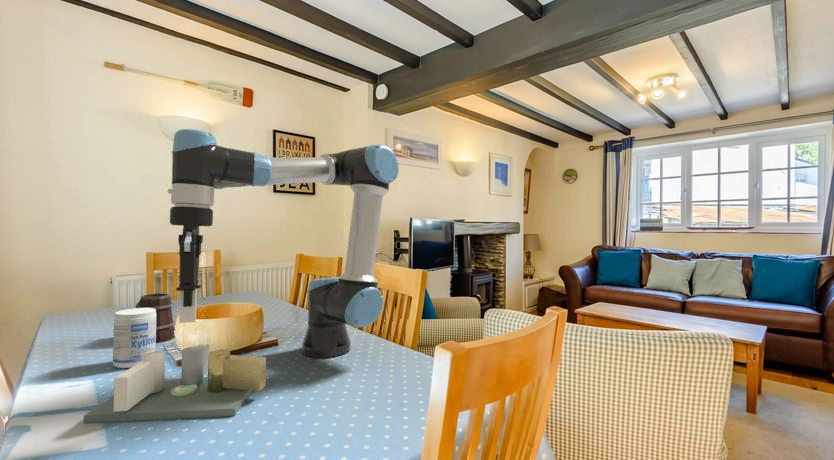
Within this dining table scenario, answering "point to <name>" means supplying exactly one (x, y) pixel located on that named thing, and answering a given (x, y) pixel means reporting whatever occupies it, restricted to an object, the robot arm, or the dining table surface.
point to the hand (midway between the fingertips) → (187, 321)
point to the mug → (160, 314)
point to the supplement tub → (133, 336)
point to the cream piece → (140, 381)
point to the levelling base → (178, 396)
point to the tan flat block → (235, 371)
